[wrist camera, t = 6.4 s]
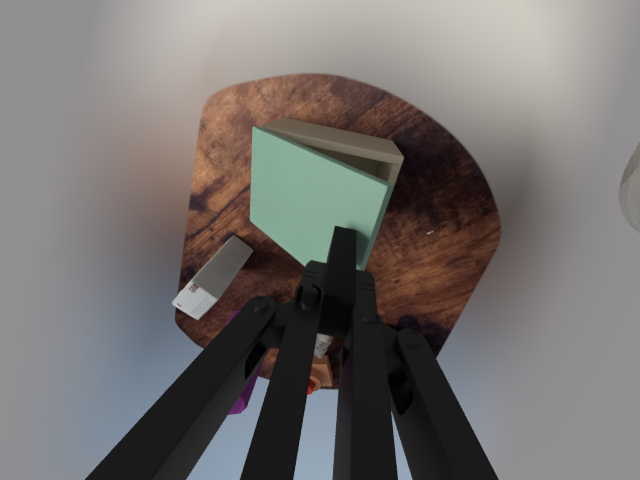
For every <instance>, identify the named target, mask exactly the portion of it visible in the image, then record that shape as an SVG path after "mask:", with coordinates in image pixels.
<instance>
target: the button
mask: <svg viewBox="0 0 640 480" xmlns="http://www.w3.org/2000/svg"><path fill="white" fill-rule="evenodd" d="M313 388H314V381H313V380H311V379H310V381H309V387H308V393H307V395H308V394H311V393H312V392H313Z"/></svg>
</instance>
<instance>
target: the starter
mask: <svg viewBox="0 0 640 480" xmlns="http://www.w3.org/2000/svg"><path fill="white" fill-rule="evenodd" d="M310 379H311V380H313V381H314V388H313V391H317V390H318V389H319V388H320V387H321V386H332V381H333V375H332V371H331V366H330V362H329V358H328V355H324V356H323V359H319V358H318V357H316V356H315V355H314V357H313V363H312V369H311V375H310Z"/></svg>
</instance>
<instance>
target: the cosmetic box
mask: <svg viewBox="0 0 640 480" xmlns="http://www.w3.org/2000/svg"><path fill="white" fill-rule="evenodd" d="M252 253H253V249H251V248H250V247H249V246H248V245H247V244H245V243H244V242H243V241H242V240H240V239H239V238H238V237H236V236H235V235H233V236H232V237H231V238H230V239H229V240H228V241H227V242H226V243H225V244H224V245H223V247H222V248H221V249H220V250H219V251H218V252H217V253H216V254H215V255H214V256H213V257H212V258H211V259H210V260H209V261H208V262H207V263H206V265H205V266H204V267H203V268H202V269H201V270H200V271H199V272H198V273H197V274H196V275H195V276H194V277H193V279H192V280H191V281H190V282H189V283H188V284H187V285H186V287H185V288H184V289H183V290H182V291H181V292H180V293H179V294H178V296H177V297H176V298H175V299H174V300H173V302H172V304H173V305H174V306H176V307H177V308H179V309H180V310H182V311H184V312H185V313H187V314H188V315H190V316H192V317H193V318H195V319H197V320H199V319H200V318H201V317H202V316H203V315H204V314H205V313H206V312H207V311H208V310H209V309H210V308H211V307H212V306H213V305H214V304H215V303H216V302H217V300H219V298H220V297H221V296H222V294H223V293H224V291H225V290H226V289H227V287H228V286H229V285H230V283H231V282H232V281H233V279H234V278H235V276H236V275H237V274H238V272H239V271H240V270H241V268H242V267H243V265H244V264H245V262H246V261H247V260H248V258H249V257H250V255H251V254H252Z"/></svg>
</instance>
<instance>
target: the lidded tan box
mask: <svg viewBox="0 0 640 480" xmlns="http://www.w3.org/2000/svg"><path fill="white" fill-rule="evenodd" d="M258 127H262V128H264V129H266V130H269V131H271V132H273V133H276V134H278V135H280V136H283V137H285V138H287V139H289V140H292V141H294V142H296V143H299V144H301V145H303V146H306V147H308V148H310V149H313V150H315V151H317V152H320V153H322V154H324V155H326V156H329V157H331V158H333V159H336V160H338V161H340V162H343V163H345V164H347V165H350V166H352V167H354V168H357V169H359V170H361V171H363V172H366V173H368V174H370V175H373V176H375V177H377V178H380V179H382V180H384V181H387V182H389V183H391V184H393V185H395V182H396V180H397V177H398V174H399V171H400V168H401V165H402V162H403V160H404V156H403V155H402V154H401V152H400V151H399V149H398V148H397V146H396V145H395V143H394V142H393V141H392V140H388V139H383V138H378V137H374V136H369V135H364V134H360V133H355V132H350V131H345V130H341V129H336V128H331V127H327V126H322V125H317V124H313V123H308V122H303V121H299V120H294V119H289V118H284V117H283V118H280V119H277V120H274V121H272V122H269V123H266V124H263V125H260V126H258ZM390 197H391V196H390ZM389 200H390V199H389ZM384 214H385V213H384ZM383 217H384V216H383ZM377 234H378V233H377Z"/></svg>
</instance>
